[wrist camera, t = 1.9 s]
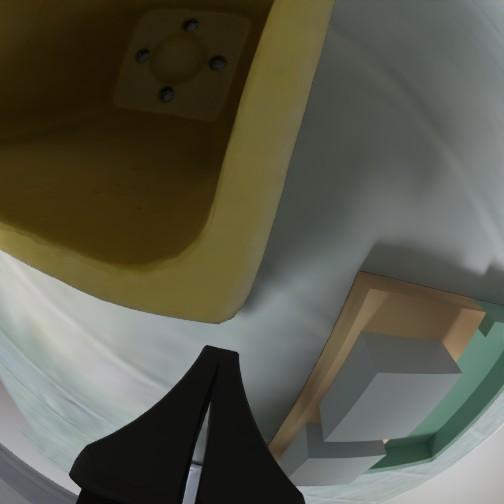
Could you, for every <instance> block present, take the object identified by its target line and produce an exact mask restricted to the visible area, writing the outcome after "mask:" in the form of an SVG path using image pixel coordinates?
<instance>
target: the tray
mask: <svg viewBox="0 0 504 504" xmlns="http://www.w3.org/2000/svg"><path fill="white" fill-rule="evenodd" d="M472 299H473V298H472ZM473 300H474V301H475V302H476V303H477V304H478V305H479V306H480V307H481V308H482V309H483V310H484V311H485V312H486V314H485V316H484V318H483V320H482V321H481V323H480V325H479V327H478V328H477V330H476V332H475V333H474V335H473V337H472V338H471V340H470V342H469V343H468V345H467V346H466V348H465V349H464V351H463V352H462V354H461V355H460V357H459V358H458V360H457V361H456V364H457V365H458V367H459V368H460V370H461V371H462V373H463V374H462V375H461V376H460V378H459V379H458V380H457V382H456V383H455V384H454V385H453V387H452V388H451V389H450V390H449V392H448V393H447V394H446V395H445V396H444V398H443V399H442V400H441V401H440V402H439V404H438V405H437V406H436V407H435V408H434V409H433V410H432V411H431V412H430V414H429V415H428V416H427V417H426V418H425V419H424V420H423V421H422V422H421V423H420V424H419V425H418V426H417V427H416V428H415V429H414V430H413V431H412V432H411V433H410V434H409V435H408V436H407V437H405V438H397V439H389V440H388V441H387V442H386V443H385V444H384V447H385V450H386V454H387V455H386V456H384V457H383V458H382V459H381V460H380V461H378V462H377V463H376V464H375V465H373V466H372V467H371V468H369V469H368V470H367V471H365V472H364V473H363V474H369V473H376V472H383V471H390V470H396V469H401V468H406V467H411V466H415V465H420V464H424V463H428V462H432V461H433V460H434V459H435V458H437V457H438V456H439V455H440V454H442V453H443V452H444V451H445V450H446V449H448V448H449V447H450V446H451V445H452V444H453V443H454V442H455V441H457V440H458V439H459V438H460V437H461V436H462V435H463V434H464V433H465V432H466V431H467V430H468V429H469V428H470V427H471V426H472V425H473V424H474V423H475V422H476V421H477V420H478V419H479V418H480V417H481V416H482V415H483V414H484V413H485V412H486V410H487V409H488V408H489V407H490V406H491V405H492V404H493V402H494V401H495V400H496V399H497V398H498V397H499V395H500V394H501V393H502V392H503V390H504V306H502V305H497V304H493V303H489V302H485V301H481V300H477V299H473Z"/></svg>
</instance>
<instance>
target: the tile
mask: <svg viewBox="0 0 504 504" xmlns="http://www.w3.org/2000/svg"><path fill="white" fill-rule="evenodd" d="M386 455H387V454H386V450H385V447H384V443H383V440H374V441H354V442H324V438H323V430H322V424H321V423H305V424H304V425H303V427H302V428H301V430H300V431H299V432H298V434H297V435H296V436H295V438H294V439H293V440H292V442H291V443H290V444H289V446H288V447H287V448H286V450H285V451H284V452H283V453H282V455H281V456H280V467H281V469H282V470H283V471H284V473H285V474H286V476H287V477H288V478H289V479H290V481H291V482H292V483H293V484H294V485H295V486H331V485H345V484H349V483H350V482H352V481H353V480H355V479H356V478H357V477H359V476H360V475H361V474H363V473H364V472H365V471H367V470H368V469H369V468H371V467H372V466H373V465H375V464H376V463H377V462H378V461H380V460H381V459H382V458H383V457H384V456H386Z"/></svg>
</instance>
